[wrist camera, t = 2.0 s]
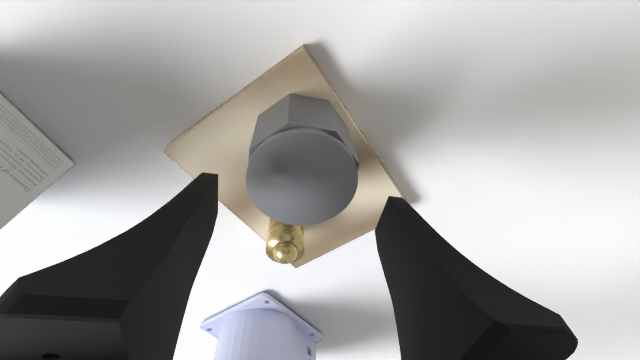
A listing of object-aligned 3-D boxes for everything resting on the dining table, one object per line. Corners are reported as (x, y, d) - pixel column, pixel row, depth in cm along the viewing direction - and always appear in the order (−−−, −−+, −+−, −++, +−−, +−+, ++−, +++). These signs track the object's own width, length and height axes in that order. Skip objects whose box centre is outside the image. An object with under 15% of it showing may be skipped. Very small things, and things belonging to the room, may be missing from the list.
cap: (361, 148, 19) (377, 193, 15) (292, 189, 20) (290, 239, 16) (313, 76, 16) (317, 110, 12) (237, 129, 18) (221, 173, 14)
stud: (310, 222, 22) (312, 263, 19) (283, 237, 23) (281, 278, 20) (290, 201, 21) (288, 240, 18) (262, 217, 21) (256, 258, 18)
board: (406, 201, 23) (410, 210, 22) (295, 258, 25) (296, 268, 25) (303, 44, 16) (303, 48, 15) (169, 143, 19) (163, 151, 18)
